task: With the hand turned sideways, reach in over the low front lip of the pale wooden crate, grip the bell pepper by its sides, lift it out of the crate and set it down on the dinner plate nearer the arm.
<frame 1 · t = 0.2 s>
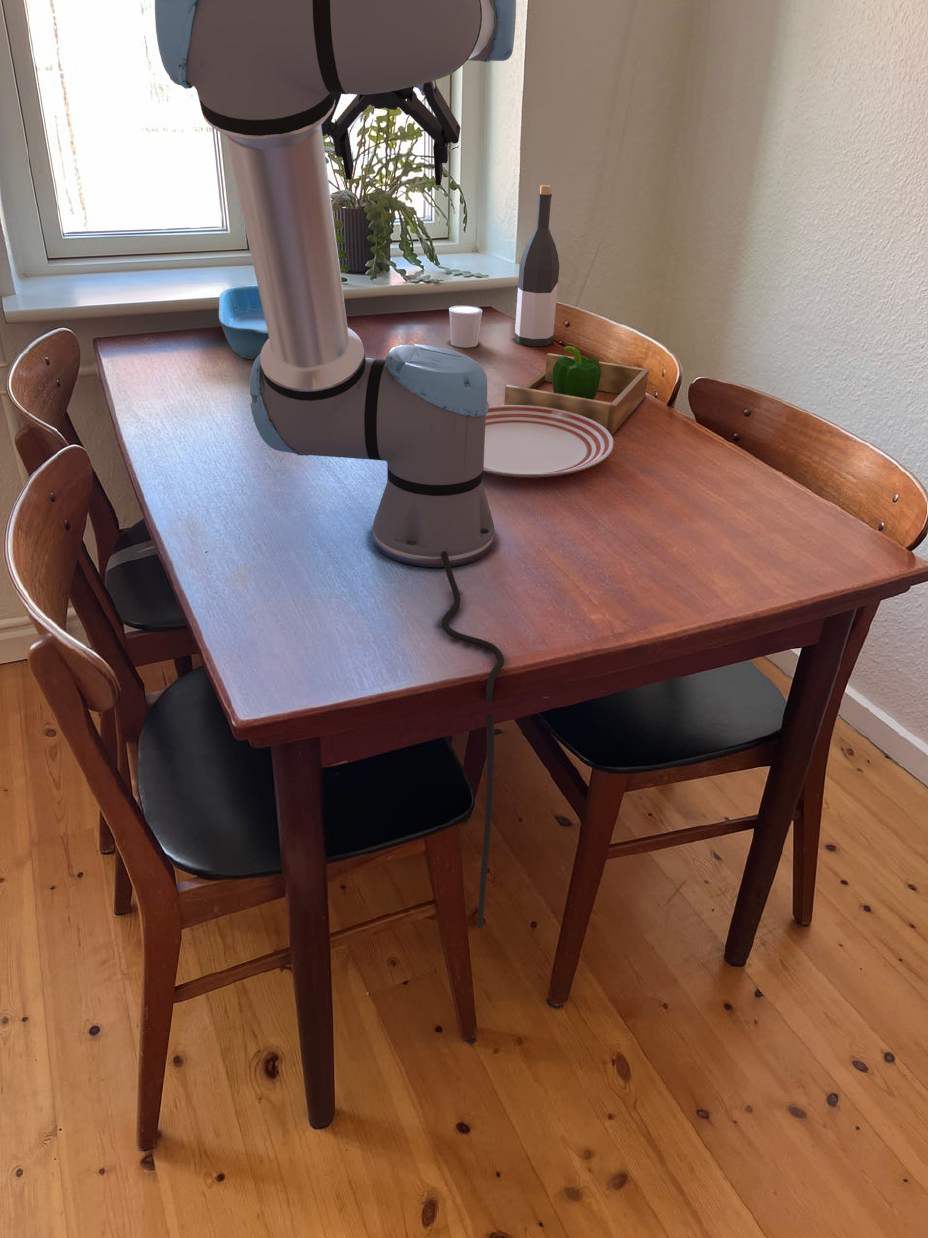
hand: (394, 175, 140), 36 cm above the table, tool tilted 35°, fingers open, 13 cm apart
white cup: (464, 344, 193), on the table
wine bottle: (533, 342, 197), on the table
casserole dish: (278, 340, 190), on the table
dinner plate: (521, 456, 143), on the table
crate: (574, 404, 163), on the table
bell pepper: (573, 406, 163), resting in crate
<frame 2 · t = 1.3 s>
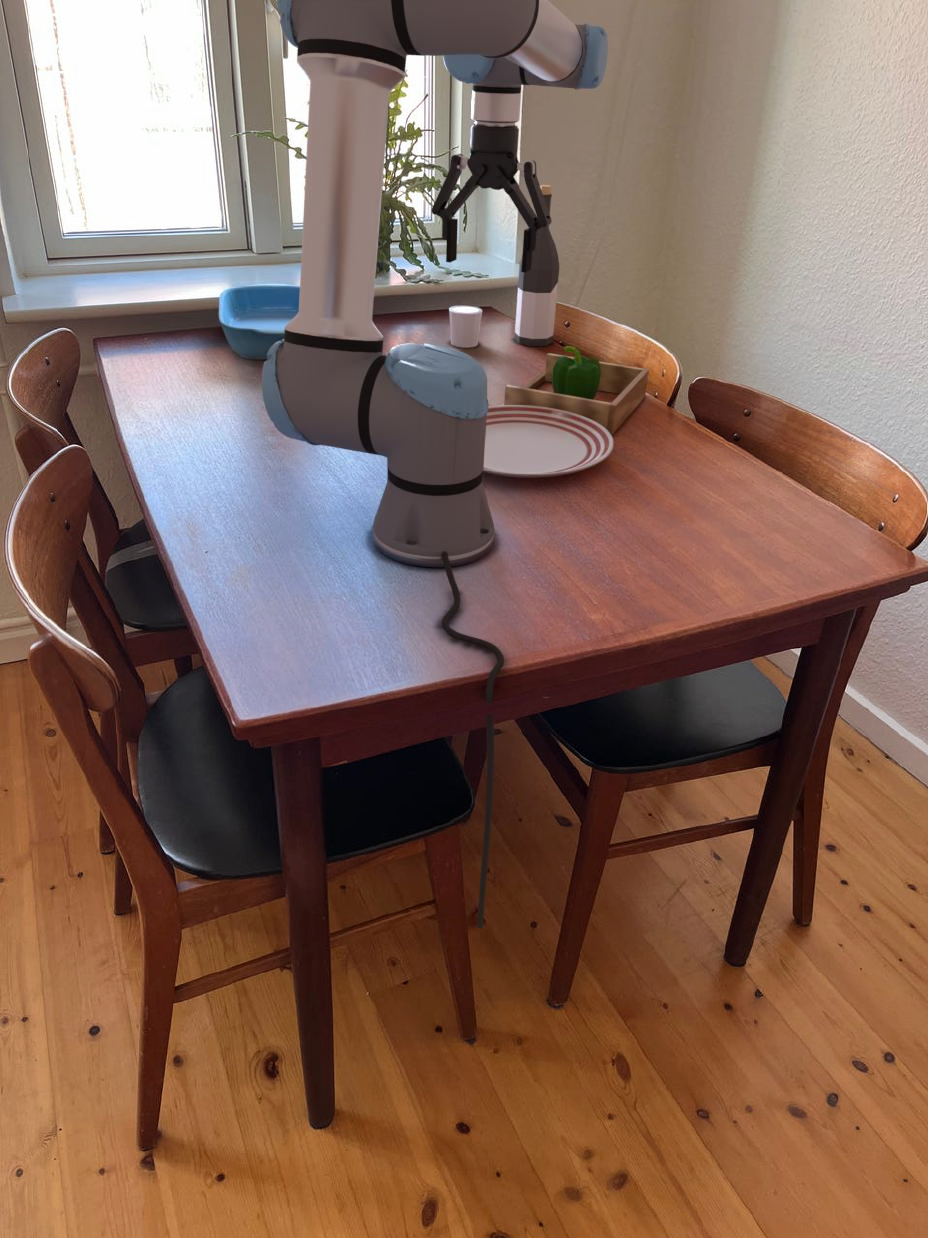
hand: (488, 265, 157), 21 cm above the table, tool pointing down, fingers open, 13 cm apart
nothing on the table moved.
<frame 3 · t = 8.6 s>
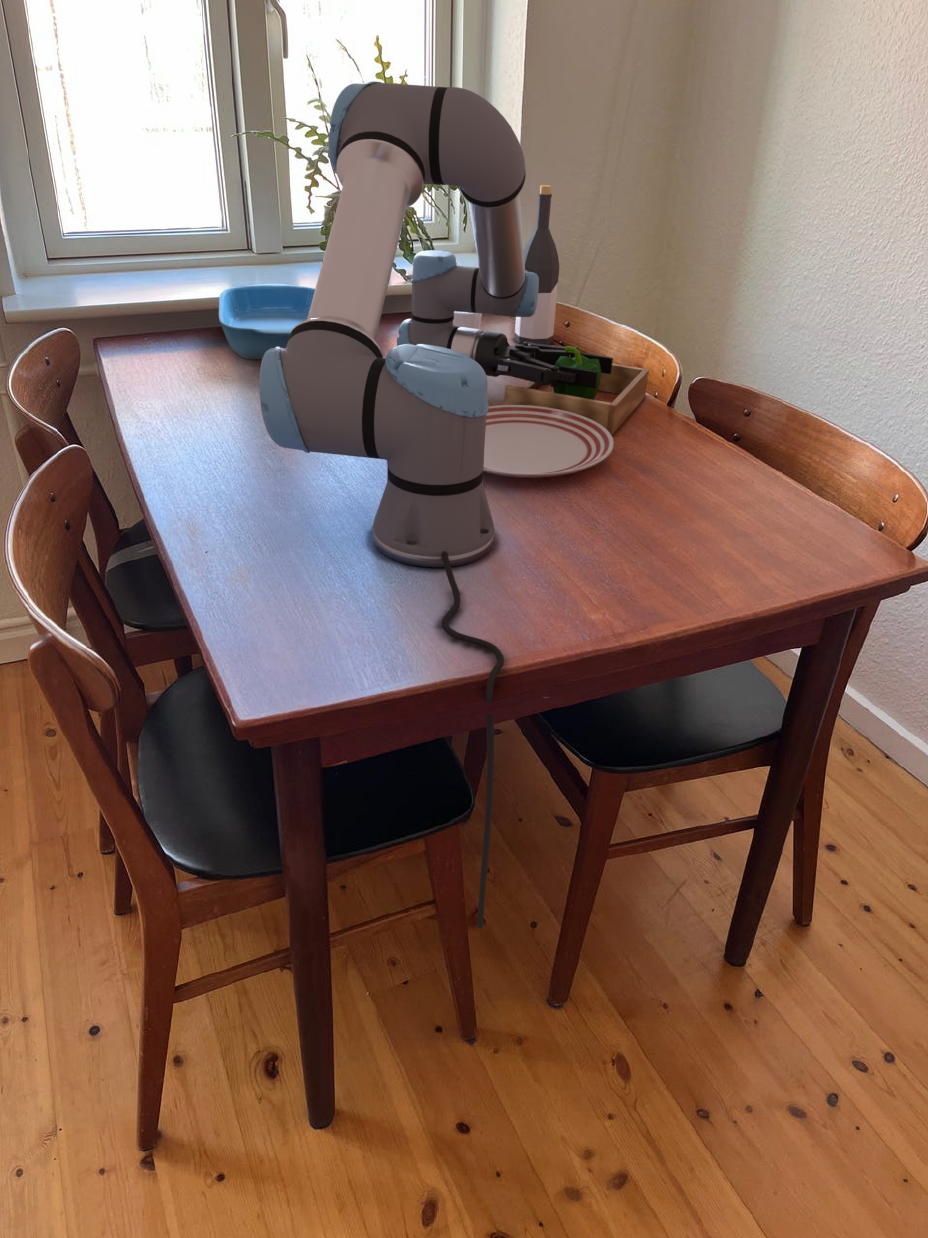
hand: (604, 372, 158), 6 cm above the table, tool horizontal, fingers closed on bell pepper, 8 cm apart
bell pepper: (574, 405, 164), resting in crate, touching gripper
everything else where it was.
when the fingers open (10 cm above the table, at t = 18.0 s): bell pepper stays where it is, resting on dinner plate.
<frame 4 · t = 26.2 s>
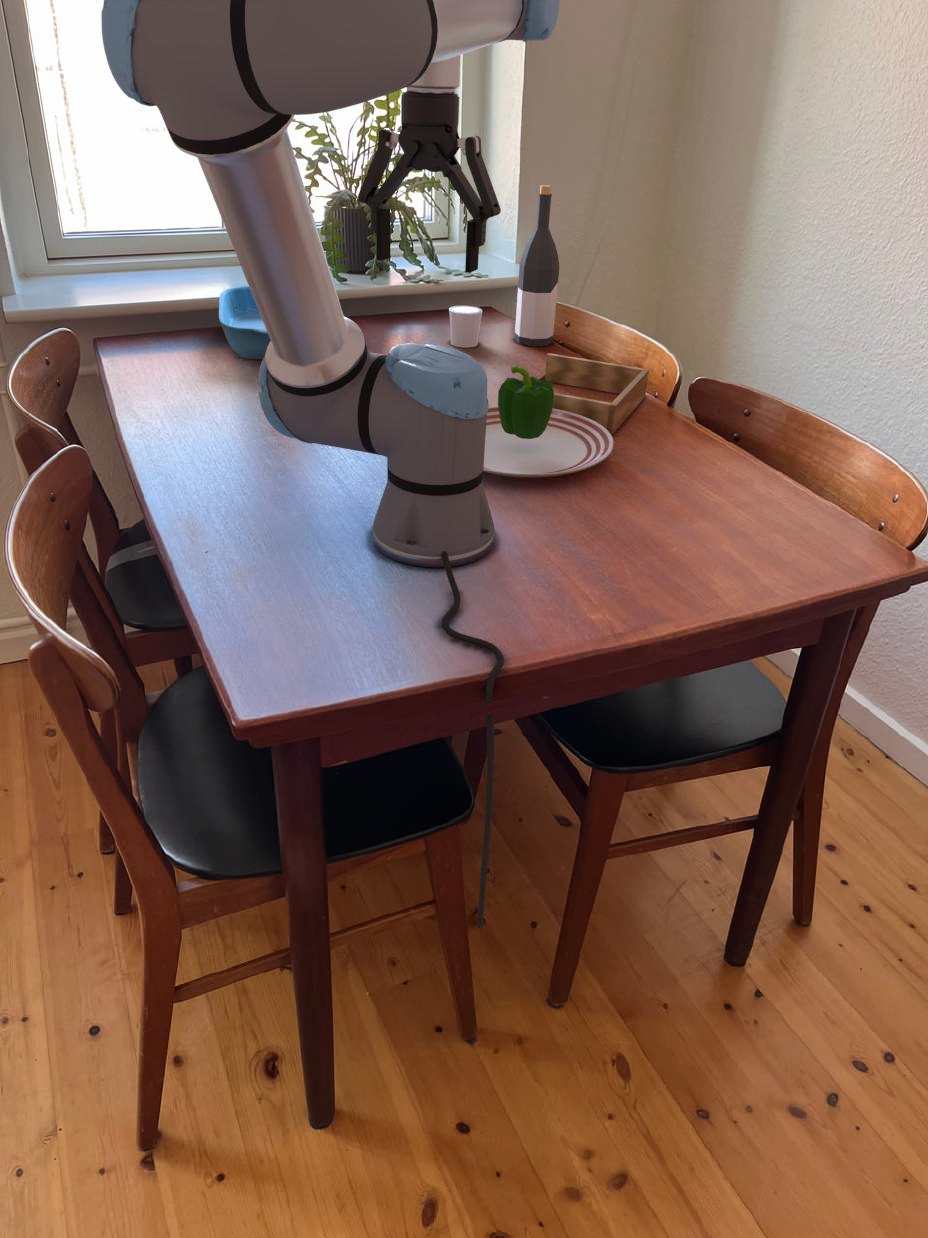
hand: (426, 264, 130), 27 cm above the table, tool pointing down, fingers open, 13 cm apart
dinner plate: (521, 456, 143), on the table, touching bell pepper
bell pepper: (524, 434, 141), point 3 cm above the table, touching dinner plate
everything else where it was.
at the end: bell pepper 0.4 cm from the dinner plate (horizontally); bell pepper moved 26.0 cm from its start; the gripper is holding nothing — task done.
